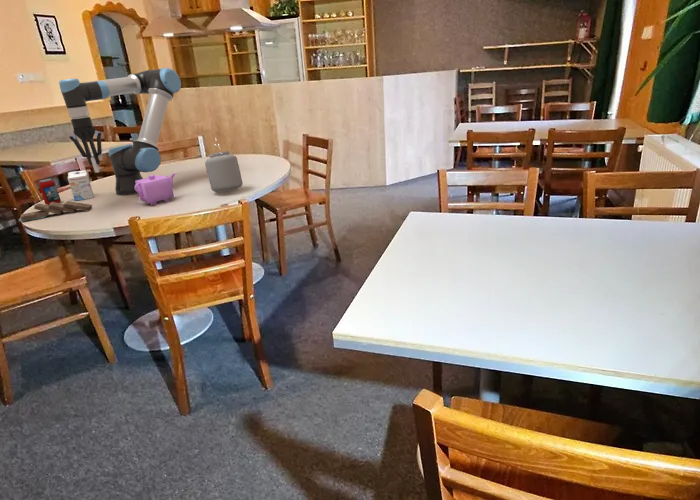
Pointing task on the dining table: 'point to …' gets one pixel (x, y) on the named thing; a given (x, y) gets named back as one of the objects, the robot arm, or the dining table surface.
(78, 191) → the ink box
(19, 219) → the domino
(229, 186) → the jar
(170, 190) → the teapot
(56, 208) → the domino
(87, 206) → the domino
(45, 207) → the domino
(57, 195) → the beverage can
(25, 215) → the domino
